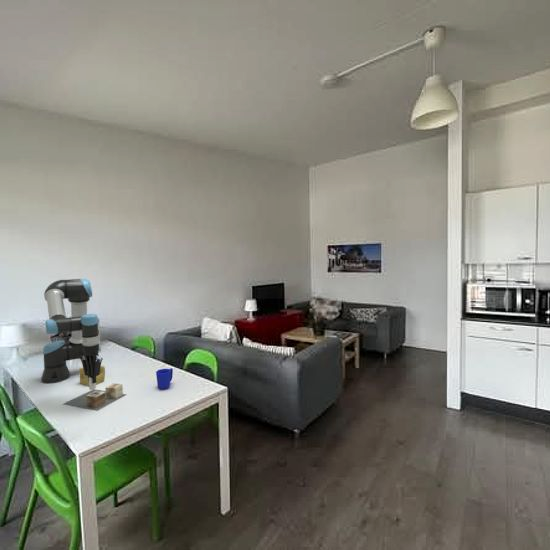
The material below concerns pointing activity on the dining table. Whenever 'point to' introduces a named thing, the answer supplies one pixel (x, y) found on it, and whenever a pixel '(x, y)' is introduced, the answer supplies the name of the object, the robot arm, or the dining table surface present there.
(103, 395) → the walnut block
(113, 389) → the maple block
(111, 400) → the rubber mat
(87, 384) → the cheese
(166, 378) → the mug
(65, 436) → the dining table surface
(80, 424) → the dining table surface
